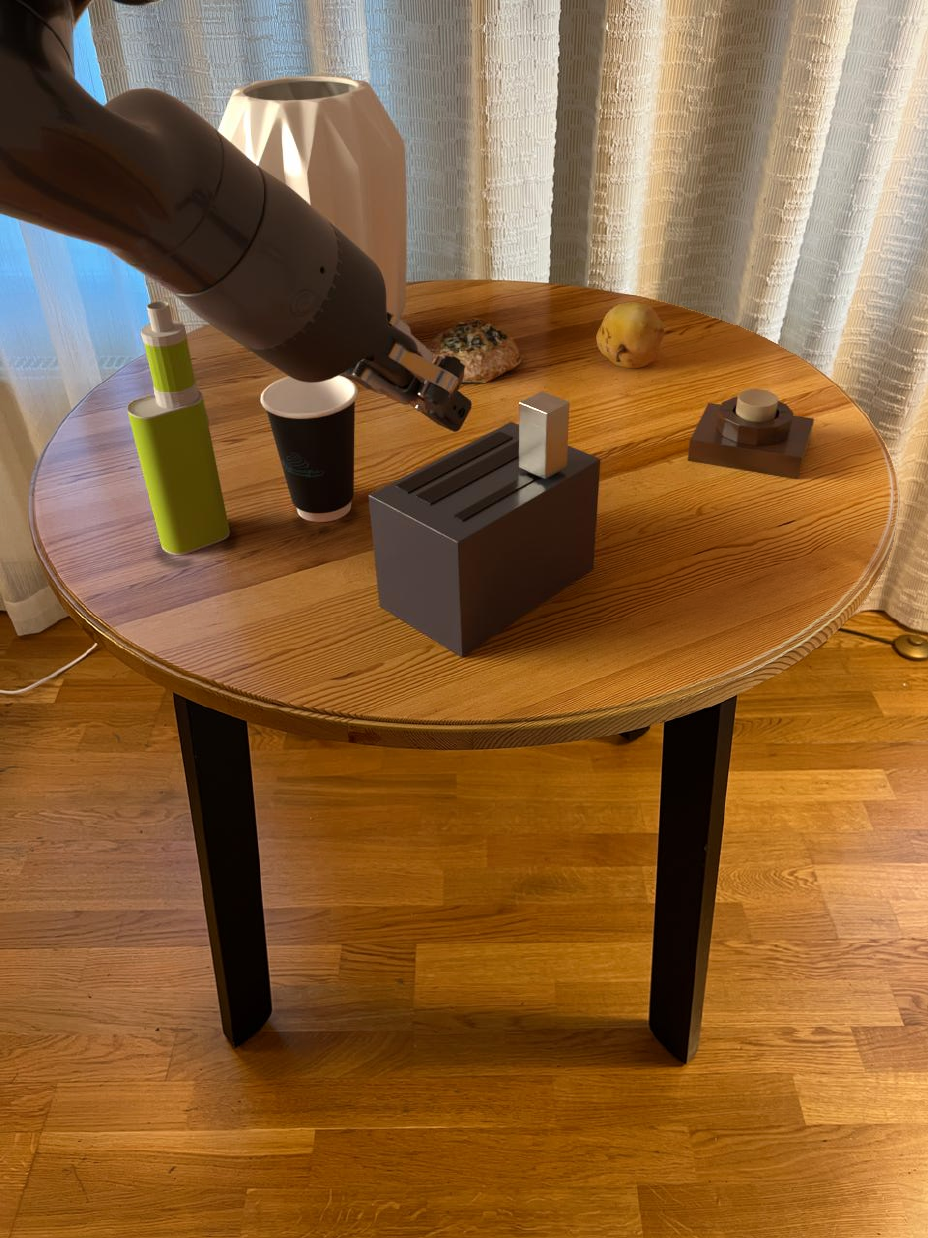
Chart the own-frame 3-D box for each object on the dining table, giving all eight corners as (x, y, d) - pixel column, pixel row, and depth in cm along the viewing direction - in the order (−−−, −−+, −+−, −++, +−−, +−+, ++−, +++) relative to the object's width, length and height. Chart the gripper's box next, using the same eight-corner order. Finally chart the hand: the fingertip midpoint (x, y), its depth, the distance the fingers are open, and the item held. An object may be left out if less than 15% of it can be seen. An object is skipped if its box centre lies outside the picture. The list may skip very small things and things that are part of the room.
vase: (215, 351, 118) (166, 87, 101) (359, 309, 126) (335, 61, 110) (298, 410, 105) (257, 120, 88) (451, 359, 114) (440, 87, 97)
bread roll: (451, 334, 119) (454, 294, 115) (536, 364, 115) (542, 323, 112) (401, 375, 111) (403, 334, 108) (491, 408, 108) (495, 366, 105)
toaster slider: (545, 479, 73) (547, 413, 70) (518, 467, 74) (518, 401, 71) (567, 467, 74) (569, 401, 71) (540, 455, 75) (541, 390, 72)
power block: (810, 439, 97) (818, 400, 95) (797, 479, 92) (805, 439, 89) (705, 422, 101) (710, 385, 98) (687, 460, 95) (692, 421, 92)
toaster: (462, 658, 73) (457, 541, 67) (379, 606, 78) (368, 493, 72) (593, 569, 82) (600, 457, 75) (511, 527, 87) (511, 419, 80)
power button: (778, 409, 95) (781, 392, 94) (771, 426, 92) (775, 408, 91) (739, 403, 96) (741, 386, 95) (731, 420, 93) (734, 402, 92)
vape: (238, 534, 87) (193, 305, 75) (172, 559, 84) (115, 326, 72) (219, 516, 89) (172, 291, 77) (154, 539, 87) (96, 310, 74)
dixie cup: (281, 537, 87) (261, 419, 80) (277, 490, 93) (258, 377, 86) (374, 525, 88) (362, 408, 81) (363, 479, 94) (352, 367, 87)
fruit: (651, 336, 103) (686, 301, 110) (591, 309, 105) (629, 276, 112) (631, 393, 108) (665, 356, 115) (574, 366, 110) (611, 331, 117)
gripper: (400, 235, 47) (565, 393, 61) (232, 184, 54) (414, 335, 68) (323, 381, 47) (505, 504, 61) (167, 310, 55) (361, 434, 69)
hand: (457, 414), depth 65 cm, fingers closed
